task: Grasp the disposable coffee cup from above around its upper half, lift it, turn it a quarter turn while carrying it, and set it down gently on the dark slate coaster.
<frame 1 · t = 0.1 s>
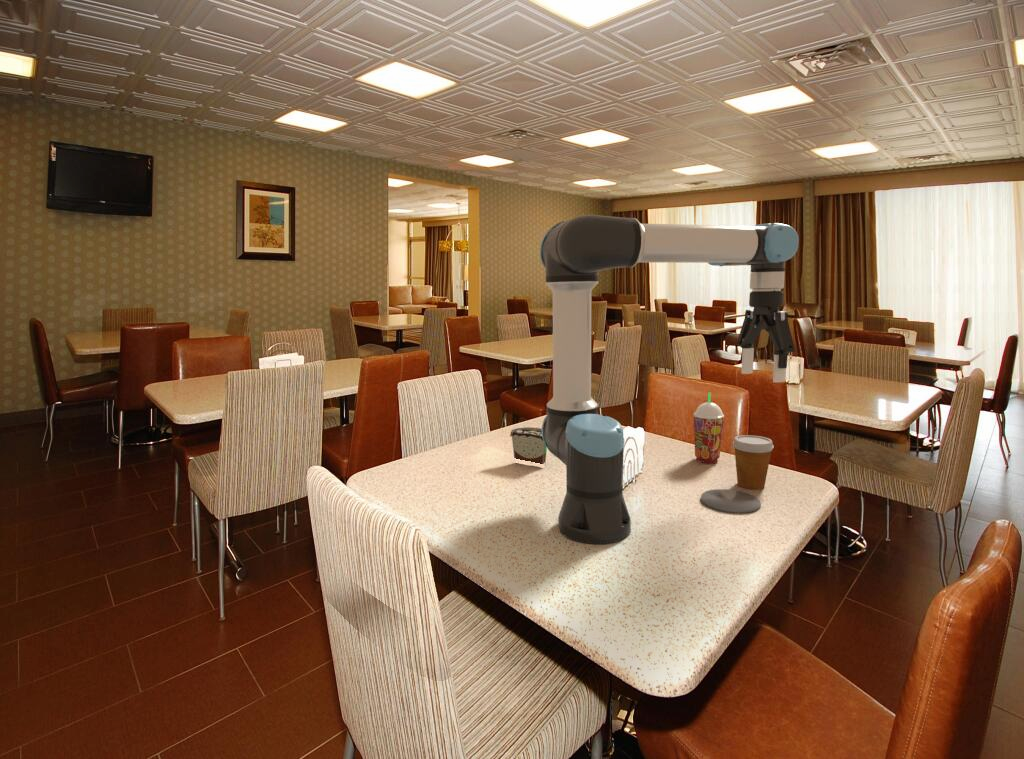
hand: (762, 377, 137), 28 cm above the table, tool pointing down, fingers open, 13 cm apart
disposable coffee cup: (750, 486, 142), on the table
smoothie: (706, 461, 163), on the table
food container: (533, 463, 163), on the table
coaster: (730, 502, 131), on the table
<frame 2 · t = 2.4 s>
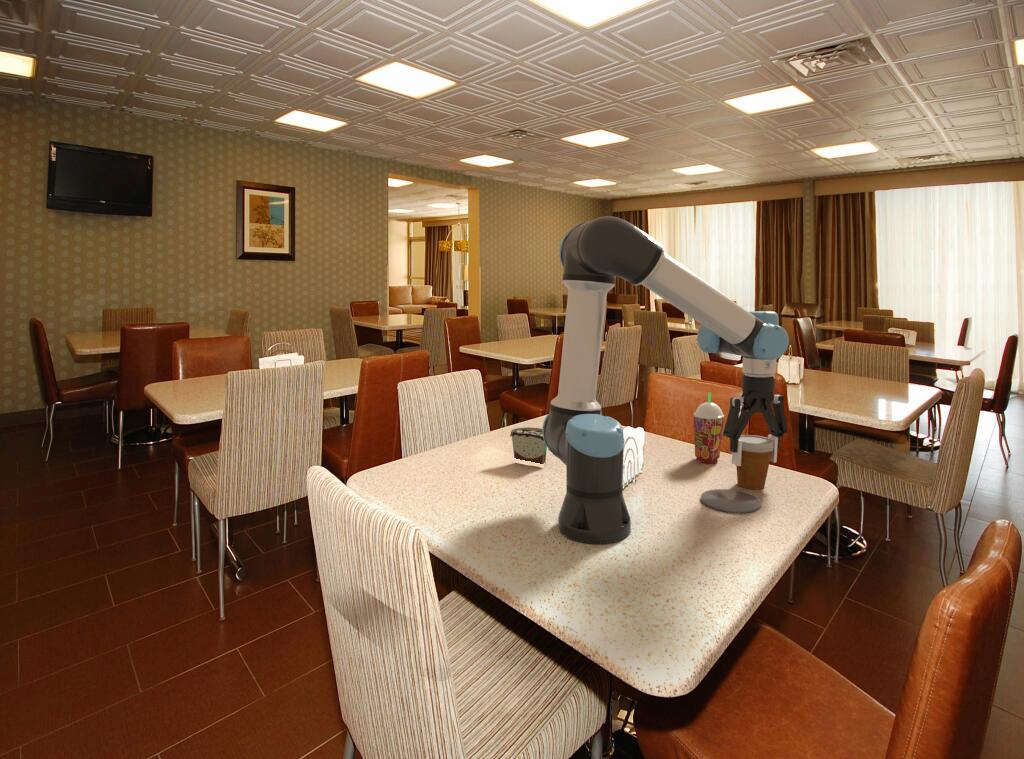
hand: (753, 462, 140), 6 cm above the table, tool pointing down, fingers closed on disposable coffee cup, 9 cm apart
disposable coffee cup: (750, 485, 142), on the table, touching gripper
everything else where it was.
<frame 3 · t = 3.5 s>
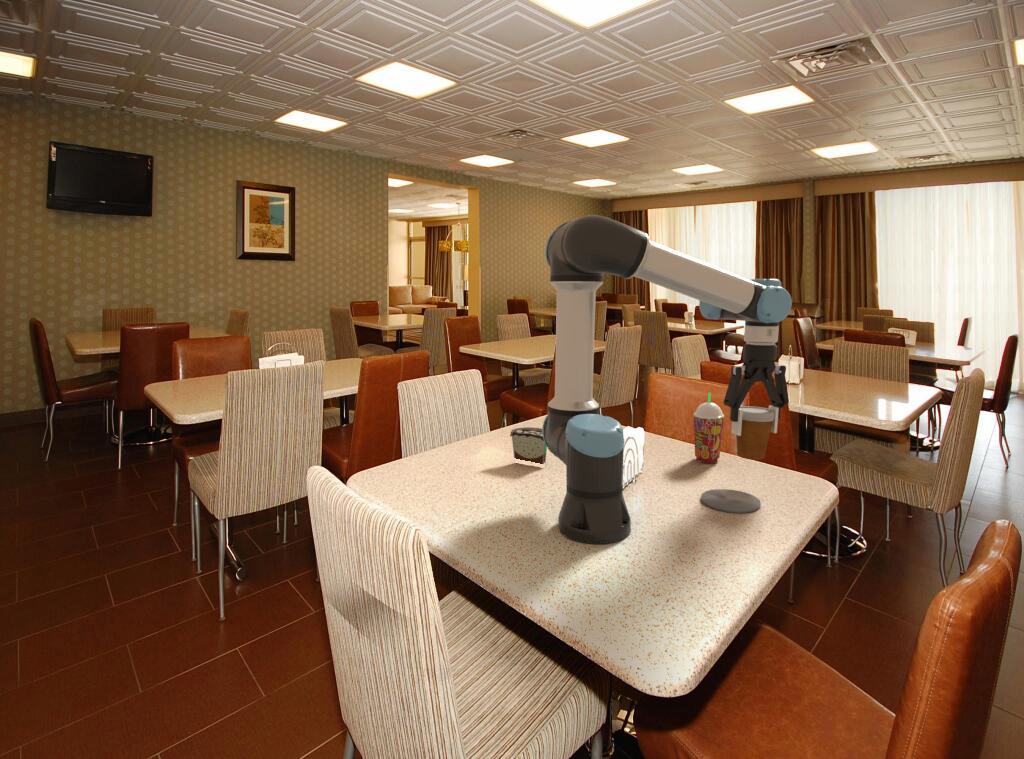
hand: (754, 433, 139), 14 cm above the table, tool pointing down, fingers closed on disposable coffee cup, 9 cm apart
disposable coffee cup: (750, 457, 140), point 7 cm above the table, touching gripper
everything else where it was.
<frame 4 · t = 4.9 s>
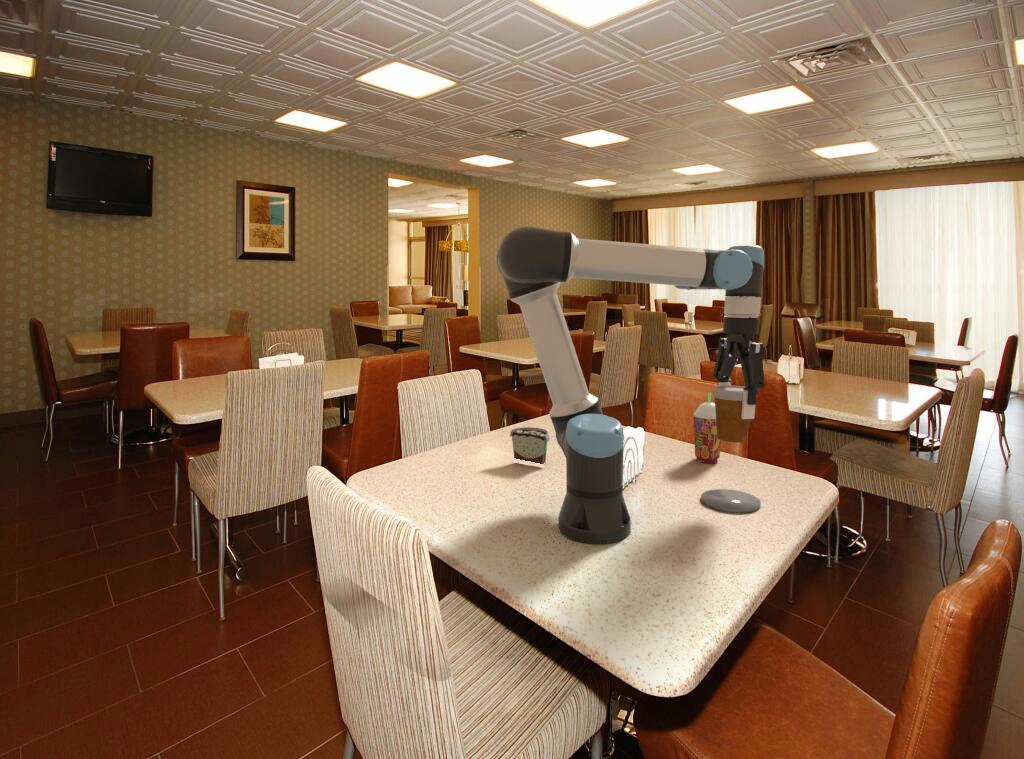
hand: (734, 413, 129), 21 cm above the table, tool pointing down, fingers closed on disposable coffee cup, 9 cm apart
disposable coffee cup: (731, 440, 130), point 15 cm above the table, touching gripper
everything else where it was.
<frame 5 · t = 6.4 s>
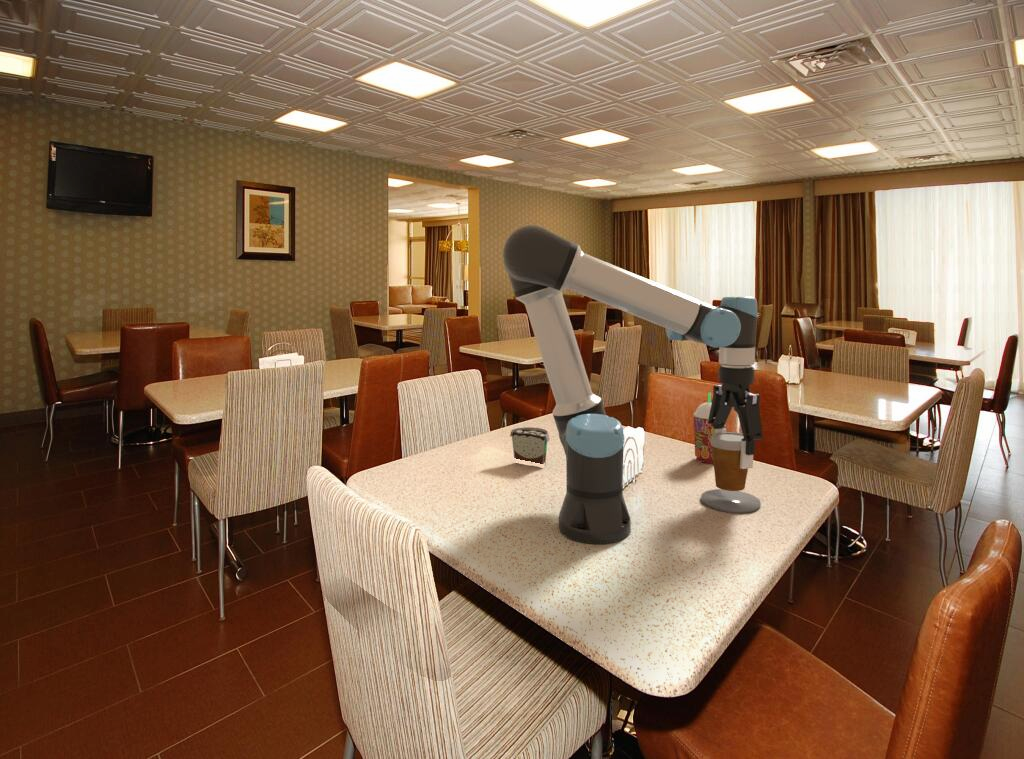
hand: (732, 461, 129), 10 cm above the table, tool pointing down, fingers closed on disposable coffee cup, 9 cm apart
disposable coffee cup: (730, 487, 130), point 4 cm above the table, touching gripper
everything else where it was.
when the fingers open (8 cm above the table, at t = 7.3 s): disposable coffee cup stays where it is, resting on coaster.
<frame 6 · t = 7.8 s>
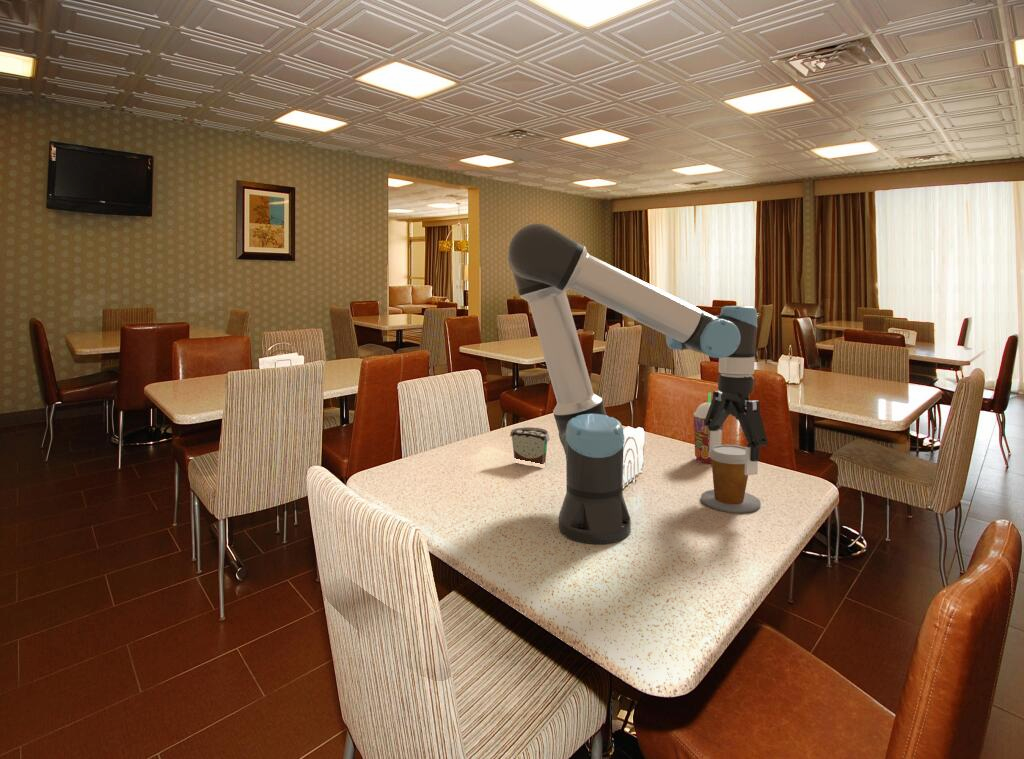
hand: (731, 465, 129), 9 cm above the table, tool pointing down, fingers open, 13 cm apart
disposable coffee cup: (728, 500, 131), point 1 cm above the table, touching coaster
everything else where it was.
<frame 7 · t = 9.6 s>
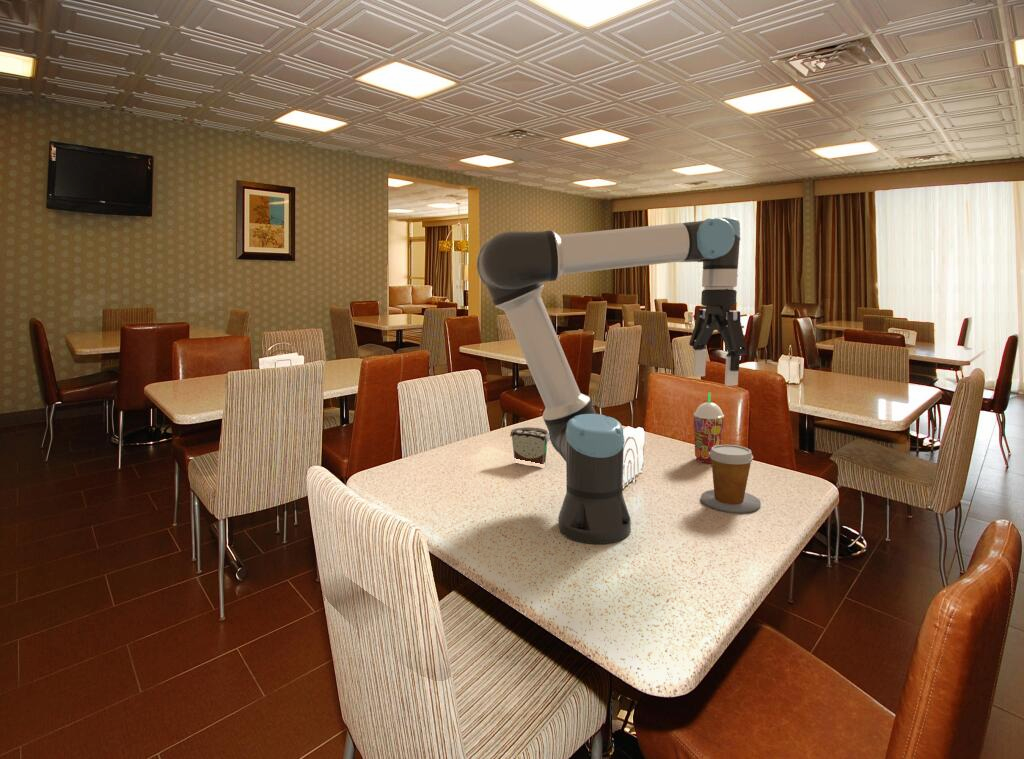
hand: (714, 380, 131), 28 cm above the table, tool pointing down, fingers open, 13 cm apart
nothing on the table moved.
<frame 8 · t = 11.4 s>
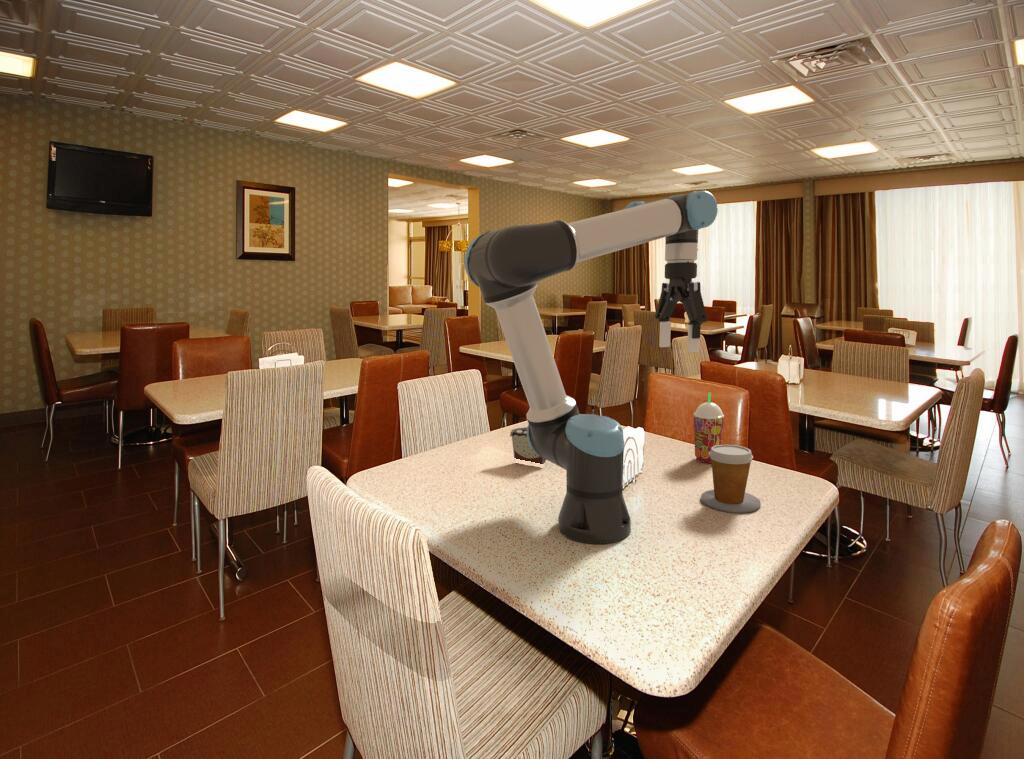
hand: (678, 349, 138), 35 cm above the table, tool pointing down, fingers open, 13 cm apart
nothing on the table moved.
at the end: disposable coffee cup 0.5 cm from the coaster (horizontally); disposable coffee cup tilted 0°; the gripper is holding nothing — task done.
